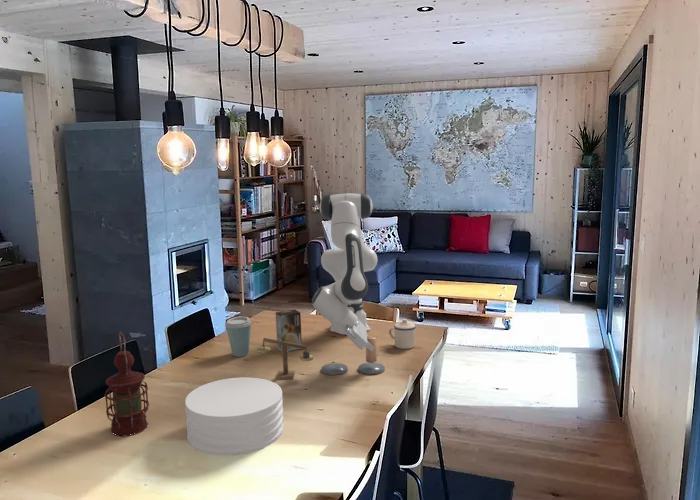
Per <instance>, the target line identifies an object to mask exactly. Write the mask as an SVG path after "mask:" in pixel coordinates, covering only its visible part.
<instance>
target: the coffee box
mask: <svg viewBox="0 0 700 500" xmlns="http://www.w3.org/2000/svg"><path fill="white" fill-rule="evenodd" d="M301 318H302V317H301V311H298V310H297V309H289V310H282V311H277V312H275V325H276V327H275V328H276V340H279V341H284V342H290V343H295V344H300V345H303V344H302V343H303V342H302V341H303V340H302V319H301ZM276 346H277V350H279V351H280V352H282V353H283V346H282V345H280V344H276ZM287 349H288V352H291V351H297V350H302V348H296V347H291V346H287Z"/></svg>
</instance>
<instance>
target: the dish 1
mask: <svg viewBox="0 0 700 500" xmlns="http://www.w3.org/2000/svg"><path fill="white" fill-rule="evenodd" d="M348 371H349V367H348V365H346V364H344V363H341V362H331V363H326V364H324V365H322V366H321V373H323V374H324V375H327V376H340V375H344V374H346V373H348Z"/></svg>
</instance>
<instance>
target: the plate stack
mask: <svg viewBox="0 0 700 500" xmlns="http://www.w3.org/2000/svg"><path fill="white" fill-rule="evenodd" d="M283 401H284V399H283V390H282V388H281V386H280V385H278V384H277V383H276V382H275V381H271V380H268V379H264V378H258V377H247V376H246V377H244V376H243V377H231V378H230V377H229V378H222V379H219V380H215V381H211V382H208V383H205V384H202V385H200V386H199V387H196V388H195V389H193V390H191V392H190V393H188V394H187V396H186V397H185V401H184V405H185V406H184V407H185V417H186V418H185V422H186V432H187V433H186V434H187V435H186V437H187V439H186V440H187V442H188V444H189V445H190V447H192V448H193V449H194V450H196V451H198V452H200V453H203V454H206V455H212V456H238V455H243V454H249V453H254V452H256V451H259V450H262V449H264V448H266V447H268V446H271V444H273V443H275V442H277V440H278V439H280V437H281V436H282V435H283V432H284V426H285V425H284V407H283V405H284V404H283V403H284V402H283Z"/></svg>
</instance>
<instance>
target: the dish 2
mask: <svg viewBox="0 0 700 500" xmlns="http://www.w3.org/2000/svg"><path fill="white" fill-rule="evenodd" d="M385 370H386V367H385V365H383V364H382V363H379V362H374V363H369V362H365V363H362V364H359V365H358V369H357V371H358V372H359V373H361V374H363V375H372V376H373V375H374V376H375V375H380V374H382V373H384V372H385Z"/></svg>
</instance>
